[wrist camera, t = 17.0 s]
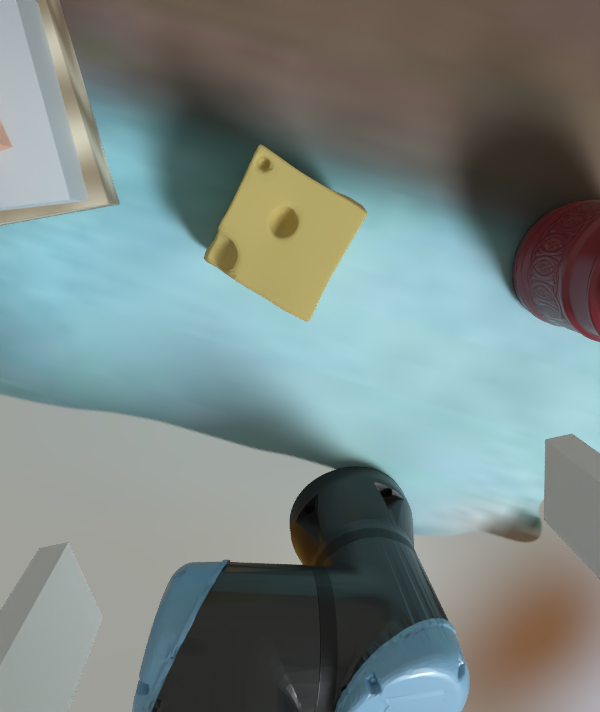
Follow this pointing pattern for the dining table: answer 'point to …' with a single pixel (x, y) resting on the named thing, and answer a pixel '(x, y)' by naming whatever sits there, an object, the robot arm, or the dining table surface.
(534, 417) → the dining table surface
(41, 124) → the tower top
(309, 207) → the cheese
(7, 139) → the terracotta block
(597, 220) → the canister
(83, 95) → the tower base
